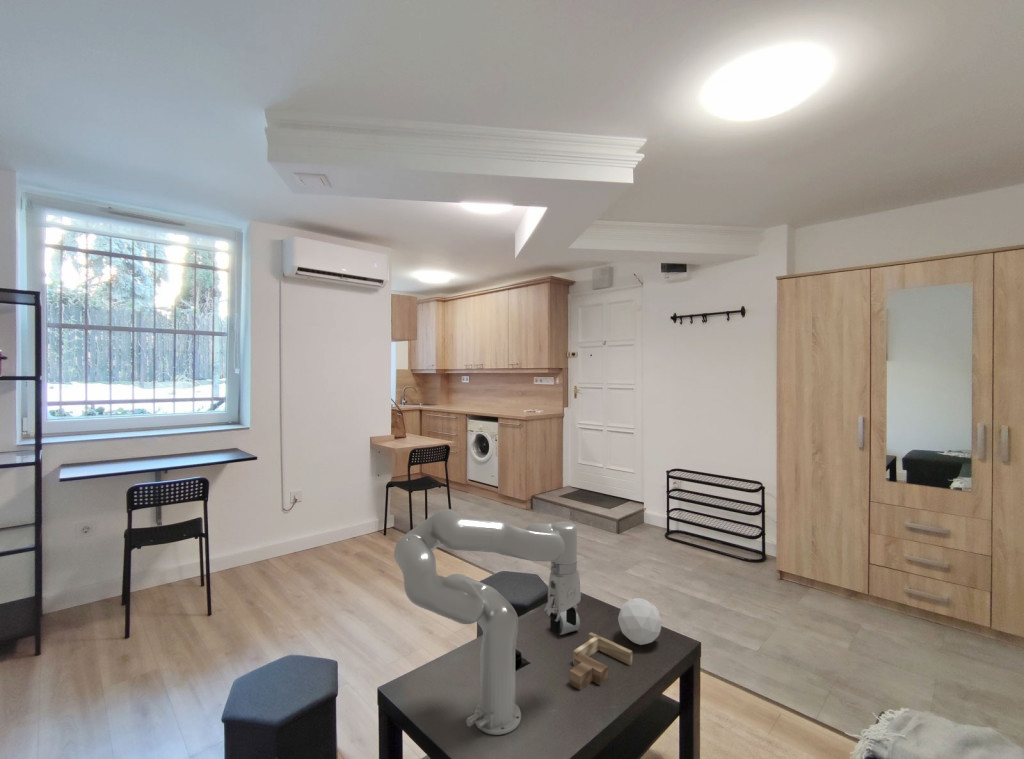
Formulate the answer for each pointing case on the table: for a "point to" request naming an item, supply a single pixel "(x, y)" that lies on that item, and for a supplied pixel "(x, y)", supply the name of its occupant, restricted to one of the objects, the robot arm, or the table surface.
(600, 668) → the tee block
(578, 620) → the ceramic mug
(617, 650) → the light wooden angled piece
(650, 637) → the white faceted ball
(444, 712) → the table surface
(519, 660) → the build plate
